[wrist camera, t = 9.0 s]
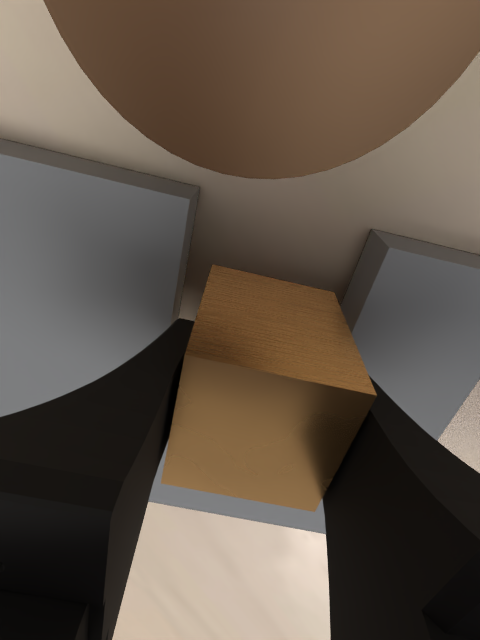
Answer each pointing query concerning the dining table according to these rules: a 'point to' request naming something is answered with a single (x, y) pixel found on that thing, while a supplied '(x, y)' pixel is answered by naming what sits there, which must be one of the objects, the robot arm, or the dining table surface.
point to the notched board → (166, 292)
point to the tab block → (266, 392)
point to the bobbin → (270, 73)
